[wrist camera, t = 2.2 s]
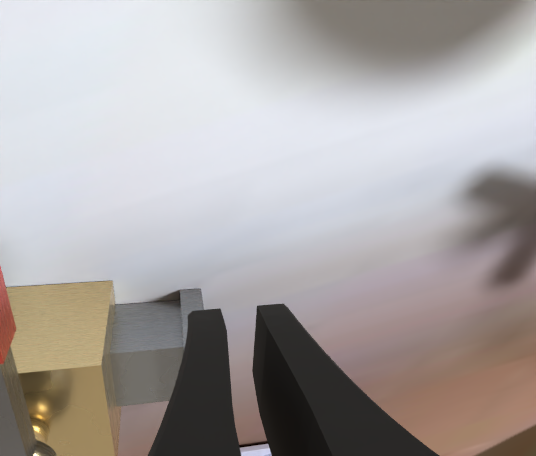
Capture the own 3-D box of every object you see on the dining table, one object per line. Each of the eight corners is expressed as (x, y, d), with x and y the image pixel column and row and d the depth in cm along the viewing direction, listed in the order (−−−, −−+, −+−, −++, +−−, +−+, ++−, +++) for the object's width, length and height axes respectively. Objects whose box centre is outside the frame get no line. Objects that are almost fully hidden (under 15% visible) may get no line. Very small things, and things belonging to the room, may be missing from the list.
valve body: (201, 366, 25) (213, 475, 20) (-97, 397, 22) (-174, 534, 17) (200, 275, 22) (214, 374, 17) (-142, 296, 19) (-254, 424, 14)
